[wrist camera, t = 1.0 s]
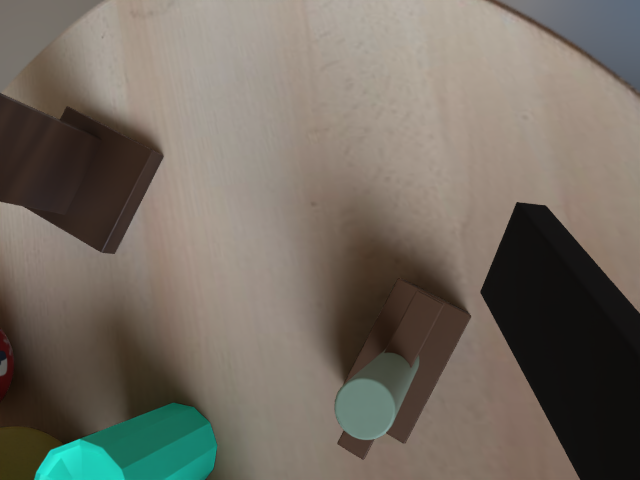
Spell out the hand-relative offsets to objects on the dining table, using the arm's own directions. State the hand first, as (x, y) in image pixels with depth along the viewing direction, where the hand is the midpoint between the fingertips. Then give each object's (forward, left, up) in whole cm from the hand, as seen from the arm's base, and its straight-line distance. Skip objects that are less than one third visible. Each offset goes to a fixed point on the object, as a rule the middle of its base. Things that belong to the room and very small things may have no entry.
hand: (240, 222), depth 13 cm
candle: (+14, +11, -25) cm, 31 cm away
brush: (-2, +5, -24) cm, 25 cm away
